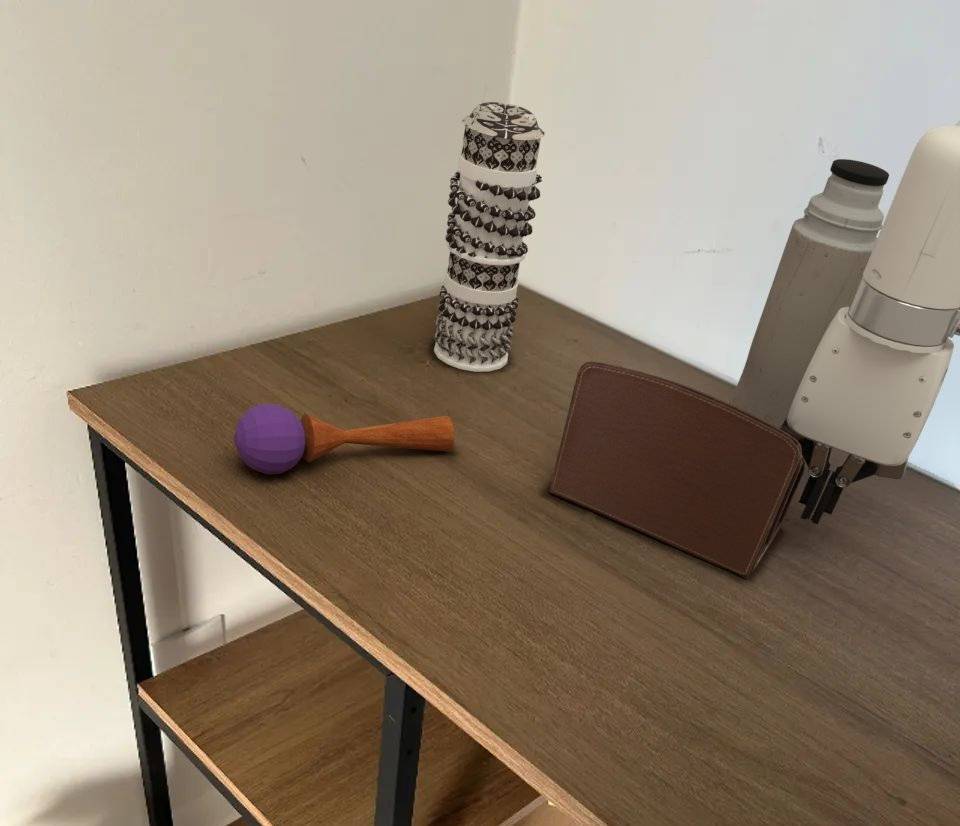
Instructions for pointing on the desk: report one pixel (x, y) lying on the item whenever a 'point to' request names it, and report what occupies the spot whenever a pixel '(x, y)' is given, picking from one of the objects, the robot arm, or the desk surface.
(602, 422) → the letter holder
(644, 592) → the desk surface
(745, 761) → the desk surface
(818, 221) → the thermos bottle
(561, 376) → the desk surface
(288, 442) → the kendama
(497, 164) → the white patterned cylinder
